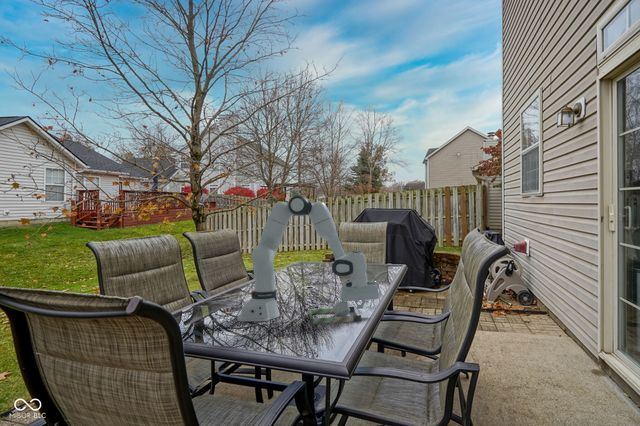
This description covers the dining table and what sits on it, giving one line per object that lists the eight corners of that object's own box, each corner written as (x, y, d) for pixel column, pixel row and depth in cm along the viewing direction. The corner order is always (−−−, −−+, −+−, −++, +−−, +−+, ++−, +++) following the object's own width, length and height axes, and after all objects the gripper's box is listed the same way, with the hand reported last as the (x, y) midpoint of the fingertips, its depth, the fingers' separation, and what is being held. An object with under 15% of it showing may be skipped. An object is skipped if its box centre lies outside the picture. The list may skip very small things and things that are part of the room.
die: (352, 316, 184) (344, 300, 189) (352, 312, 177) (344, 295, 182) (338, 323, 183) (331, 306, 188) (337, 319, 176) (329, 302, 181)
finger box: (311, 325, 171) (310, 319, 171) (309, 314, 191) (308, 309, 191) (361, 321, 173) (361, 315, 173) (354, 311, 193) (354, 306, 193)
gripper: (376, 279, 188) (378, 305, 187) (339, 282, 186) (340, 308, 186) (379, 281, 181) (381, 308, 181) (340, 284, 180) (341, 311, 179)
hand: (360, 308), depth 183 cm, fingers closed
